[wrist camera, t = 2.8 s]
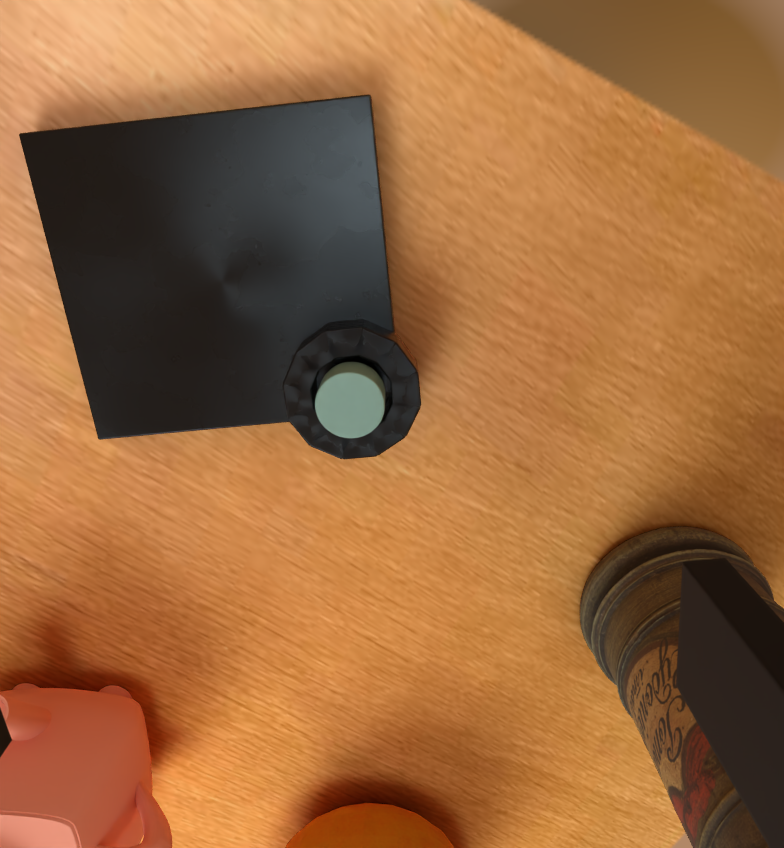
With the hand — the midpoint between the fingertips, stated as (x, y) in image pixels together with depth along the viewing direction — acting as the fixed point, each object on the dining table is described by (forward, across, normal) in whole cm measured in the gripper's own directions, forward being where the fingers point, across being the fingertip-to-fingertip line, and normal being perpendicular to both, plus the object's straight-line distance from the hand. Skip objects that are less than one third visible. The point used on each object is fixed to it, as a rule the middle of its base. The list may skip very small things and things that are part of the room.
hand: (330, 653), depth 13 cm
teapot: (+20, -18, -19) cm, 33 cm away
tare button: (+17, 0, 0) cm, 17 cm away
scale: (+20, -5, +5) cm, 21 cm away
